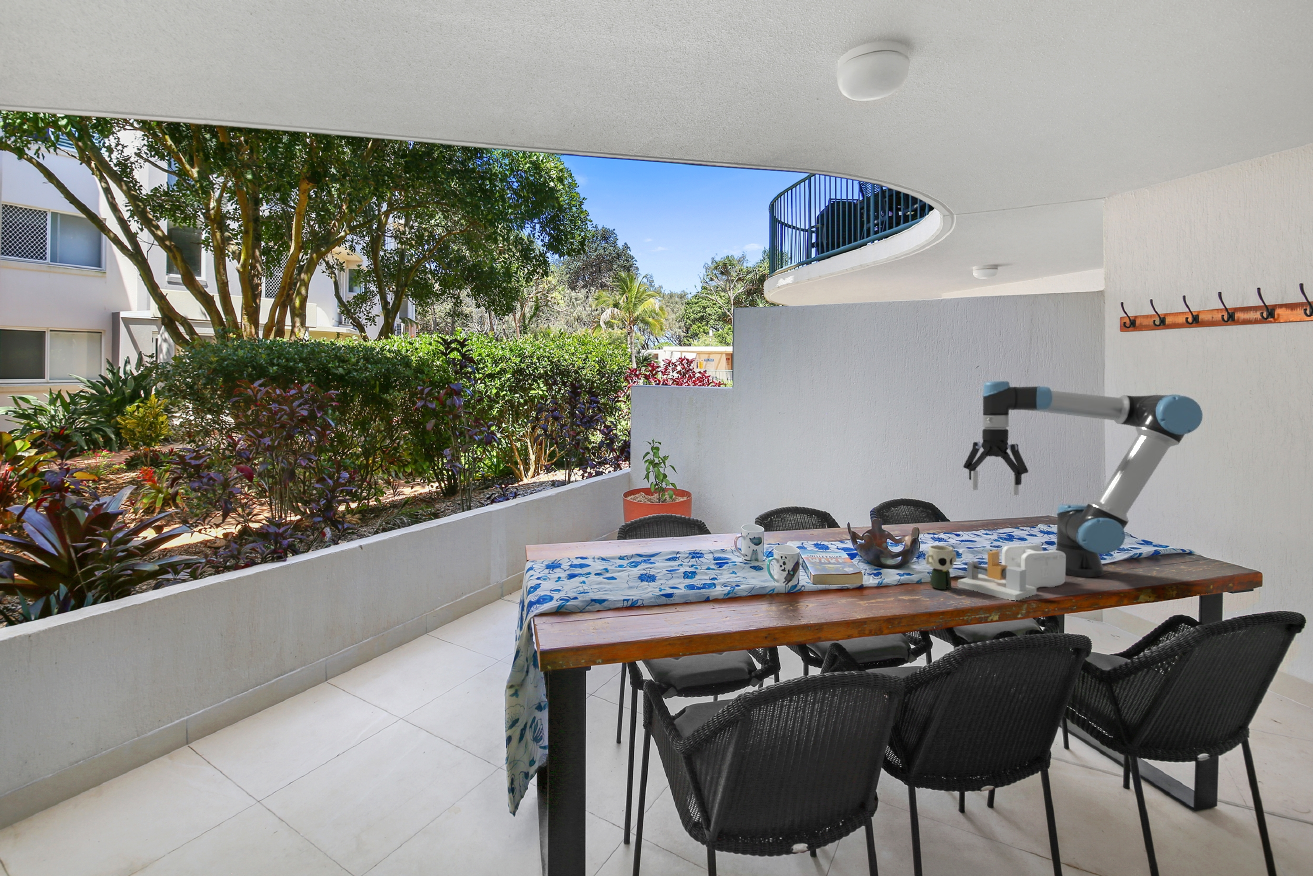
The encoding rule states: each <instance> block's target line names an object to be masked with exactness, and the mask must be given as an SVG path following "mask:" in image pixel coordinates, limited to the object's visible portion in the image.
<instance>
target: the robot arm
mask: <svg viewBox="0 0 1313 876" xmlns="http://www.w3.org/2000/svg"><path fill="white" fill-rule="evenodd" d="M982 407H983V408H982V427H983V429H982V433H981V434H982V435H981V436H982V437H981V438H982V442H980V441H973V443H972V448H971V450H970V453H969V455H968V456H967V458H966V460H965V461H964V464H963V468H964V469H965V470H966V469H967V470H968V479H969V480H970V487H971V488H970V490H971V491H977V490H978V489H979V486H978V485H979V470H977V468H978V467H980V466H981V464H982V463H983V462H984V461H985V460H986V459H987V458H988V457H995V458H1001V459H1002V460H1003V461H1004V462H1005V464H1006V465H1007V466H1008V467H1009V469H1010V470H1011V471H1012V473H1013V474H1012V475H1011V496H1018V495H1019V494H1020V491H1019V490H1020V489H1019V487H1020V486H1021V485H1022V480H1023V479H1022V477H1023V476H1022V475H1024V474H1028V473H1029V469H1028V467H1027V465H1026V463H1025V461H1024V458H1023V457H1022V455H1021V452H1020V451H1019V444H1018V443H1011V444H1009V443H1008V441H1009V429H1008V427H1009V426H1010V425H1009V424H1010V423H1009V419H1010V411H1017V410H1018V411H1032V412H1033V411H1034V412H1040V413H1047V414H1049V413H1050V414H1057V415H1065V416H1075V417H1083V418H1092V419H1101V420H1109V421H1114V422H1115V423H1116V424H1118V425H1125V426H1129V427H1130V426H1131V427H1134V428H1135V431H1136V432H1137V435H1136V437H1135V439H1134V440H1133V442H1132V443H1131V445H1130V446H1129V449H1128V450H1127V451H1126V453H1125V455H1124V456H1123V458H1122V459H1121V461H1120V463H1119V464H1118V465H1117V468H1116V469H1115V471H1114V472H1113V474H1112V475H1111V476H1110V478H1109V480H1108V482H1107V483H1106V485H1105V486H1104V488H1103V490H1102V491H1101V493H1100V494H1099V496H1098V498H1097V499H1096V500H1093V501H1090V502H1088V503H1087V504H1060V505H1058V507H1057V513H1056V523H1057V524H1056V548H1055V550H1058V551H1061V552H1064V553H1065V555H1066V569H1065V576H1072V577H1073V576H1074V577H1080V578H1082V577H1083V578H1097V577H1098V576H1099V577H1102V576H1103V575H1104V565H1103V563H1102V560H1101V557H1100V555H1104V554H1111V553H1113V552H1115V551H1117V550H1118V549H1120V548H1121V547H1122V546H1123V544H1124V542H1125V539H1126V533H1125V530H1124V529H1126V527H1127V525H1128V523H1129V519H1128V516H1127V514H1128V513H1129V511H1130V509H1131V508H1132V506H1133V505H1134V503H1136V502H1135V501H1136V500H1137V498H1138V497H1139V495H1140V494H1141V492H1142V491H1143V489H1144V487H1145V486H1146V484H1147V483H1148V481H1149V480H1150V478H1151V476H1152V475H1153V473H1154V472H1155V470H1156V469H1157V467H1158V466H1159V464H1160V463H1161V461H1162V459H1163V458H1164V456H1165V455H1166V453H1167V451H1168V450H1169V448H1170V447H1174V446H1177V445H1180V443H1181V441H1182V439H1183V438H1184V437H1185V435H1187V434H1191V433H1193V432H1194V431H1196V430H1197V429H1198V428H1199V427H1200V425H1201V424H1202V422H1203V421H1202V420H1203V415H1204V414H1203V410H1202V408H1201V406H1200V404H1199V403H1198V402H1197V401H1196V400H1195V399H1193V398H1191V397H1189V396H1186V395H1181V394H1165V395H1164V394H1163V395H1162V394H1151V395H1134V396H1133V395H1120V396H1119V397H1115V396H1105V395H1097V394H1096V395H1095V394H1086V393H1077V392H1076V393H1075V392H1067V391H1060V390H1059V391H1058V390H1051V388H1050V387H1048V386H1040V385H1038V386H1011V385H1010V381H1008V380H1000V381H999V380H998V381H996V380H995V381H994V380H993V381H992V380H991V381H985V382H984V384H983V392H982ZM980 449H983V450H982V451H981V453H980V454H979V455H978V453H979V452H980ZM1008 451H1010V453H1011V454H1010V453H1009V452H1008ZM1011 455H1012V457H1013V458H1012V457H1011ZM977 456H978V457H977ZM976 457H977V458H976ZM1099 577H1098V578H1099Z"/></svg>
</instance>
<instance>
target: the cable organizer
mask: <svg viewBox="0 0 1313 876" xmlns="http://www.w3.org/2000/svg"><path fill="white" fill-rule="evenodd" d="M1001 564H1002V565H1007V568H1009V567H1012V566H1014V567H1018V568H1023V569H1026V585H1027V586H1031V587H1035V588H1036V589H1039V588H1043V587H1046V588H1054V587H1055V586H1056V587H1058V586H1062V585H1063V584H1064V583H1065V582H1066V574H1065V569H1066V555H1065V553H1064V552H1061V551H1058V550H1056V549H1055V550H1044V549H1043V546H1041V545H1039V544H1036V543H1030V544H1029V543H1028V544H1016V545H1015V544H1013V545H1006V546H1005V547H1003V548H1002V551H1001Z"/></svg>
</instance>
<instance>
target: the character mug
mask: <svg viewBox="0 0 1313 876" xmlns="http://www.w3.org/2000/svg"><path fill="white" fill-rule="evenodd" d="M956 562H957V552H956V551H954V548H953V547H952V546H947V545H941V544H935V545H930V546H929V548H928V553H927V554H926V555H925V564H926V565H927V566H928V565H929V567H931V568H932V570H931V575H930V581H929V586H931V587H933V588H935V589H940V590H946V589H947V587H948V589H949V590H950V589H951V588H952V581H951V579H952V578H951V572H950V570H951V569H953V567H954V565H955V563H956Z"/></svg>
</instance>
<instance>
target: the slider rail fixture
mask: <svg viewBox="0 0 1313 876" xmlns="http://www.w3.org/2000/svg"><path fill="white" fill-rule="evenodd" d="M966 566H967V568H966V577H964V578H961V579H958V580H957V587H959V588H962V589H967V590H970V591H973V590H974V592H977V591H978V593H982V594H985V595H989V596H994V597H997V598H999V599H1000V598H1001V599H1003V600H1004V599H1005V600H1007V599H1009V600H1008V601H1011V600H1015V601H1014V602H1017V601H1016V600H1018V601H1020V600H1019V599H1021V600H1023V599H1022V598H1024V599H1026V598H1025V597H1027V598H1029V596H1030V597H1032V595H1033V596H1036V595H1037V588H1035V587H1031V586H1027V585H1026V569H1023V568H1018V567H1014V566H1012V567H1009V568H1004V569H1003V571H1002V577H1003V578H1006V579H1003V580H996V579H992V578H988V577H987V575H984V574H981V573H979V570H980V571H984V572H987V568H988V566H984V565H983V566H982V565H979V561H976V560H972V561H971V562H970V561H967V562H966Z"/></svg>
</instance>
